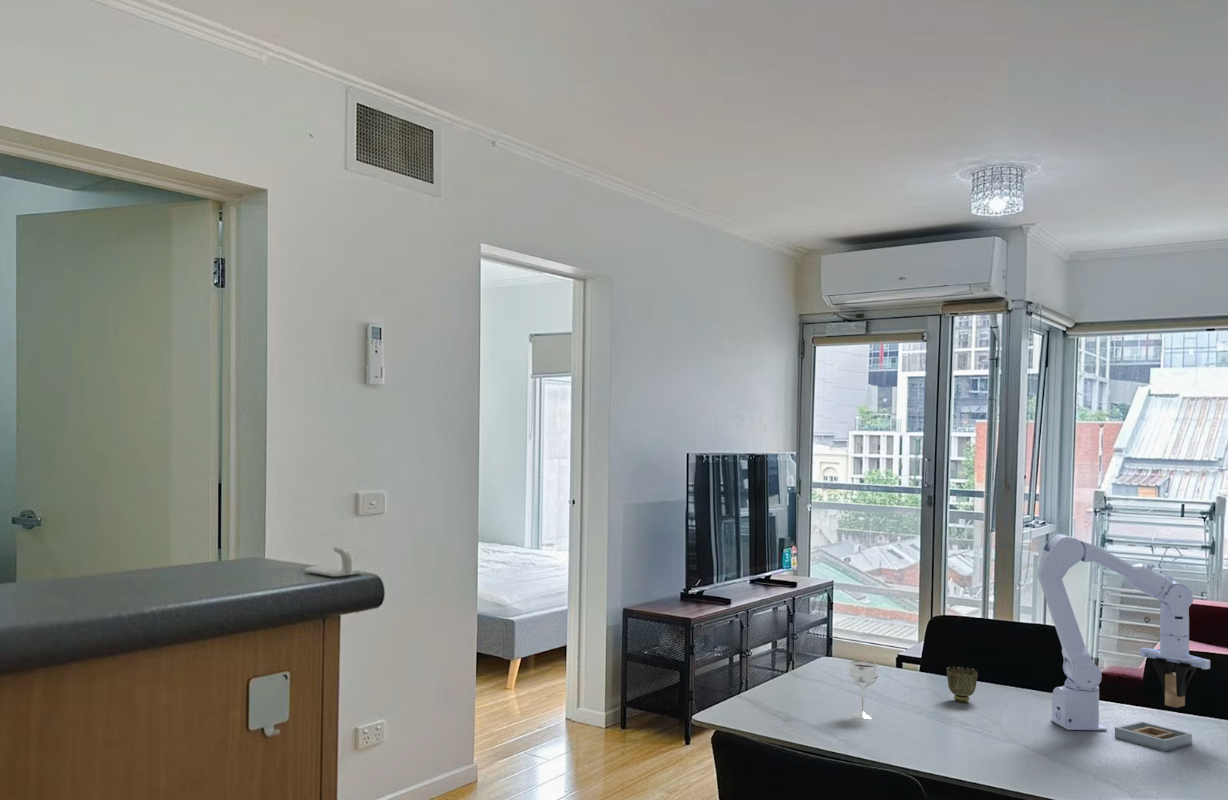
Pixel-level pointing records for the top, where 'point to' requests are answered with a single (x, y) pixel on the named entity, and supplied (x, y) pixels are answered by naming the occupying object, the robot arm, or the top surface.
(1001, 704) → the top surface
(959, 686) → the cup
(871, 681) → the wineglass
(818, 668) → the top surface
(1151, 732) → the grey tray
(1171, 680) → the tan wooden tall block
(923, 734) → the top surface
